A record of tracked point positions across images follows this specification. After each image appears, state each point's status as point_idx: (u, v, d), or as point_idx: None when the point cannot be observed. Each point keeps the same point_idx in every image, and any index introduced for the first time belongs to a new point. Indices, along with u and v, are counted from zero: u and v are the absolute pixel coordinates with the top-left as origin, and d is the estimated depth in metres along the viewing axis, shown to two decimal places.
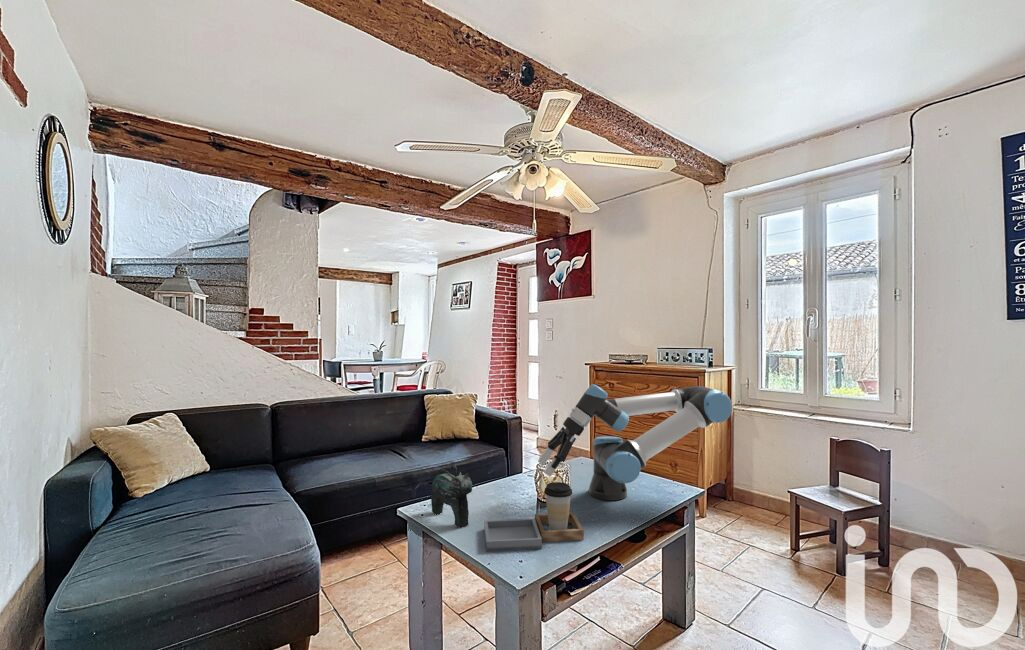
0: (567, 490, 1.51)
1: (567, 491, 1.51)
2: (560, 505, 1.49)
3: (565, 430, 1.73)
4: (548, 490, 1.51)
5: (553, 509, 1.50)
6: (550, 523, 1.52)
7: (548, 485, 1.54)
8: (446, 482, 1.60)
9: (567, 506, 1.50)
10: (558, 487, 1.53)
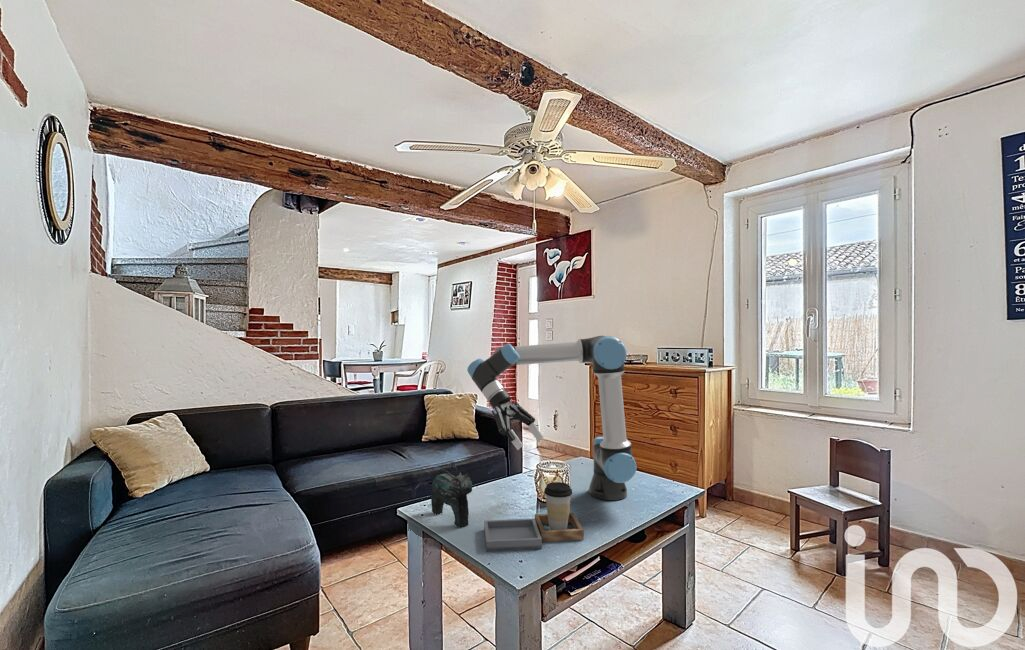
0: (567, 490, 1.51)
1: (567, 491, 1.51)
2: (560, 505, 1.49)
3: None
4: (548, 490, 1.51)
5: (553, 509, 1.50)
6: (550, 523, 1.52)
7: (548, 485, 1.54)
8: (446, 482, 1.60)
9: (567, 506, 1.50)
10: (558, 487, 1.53)
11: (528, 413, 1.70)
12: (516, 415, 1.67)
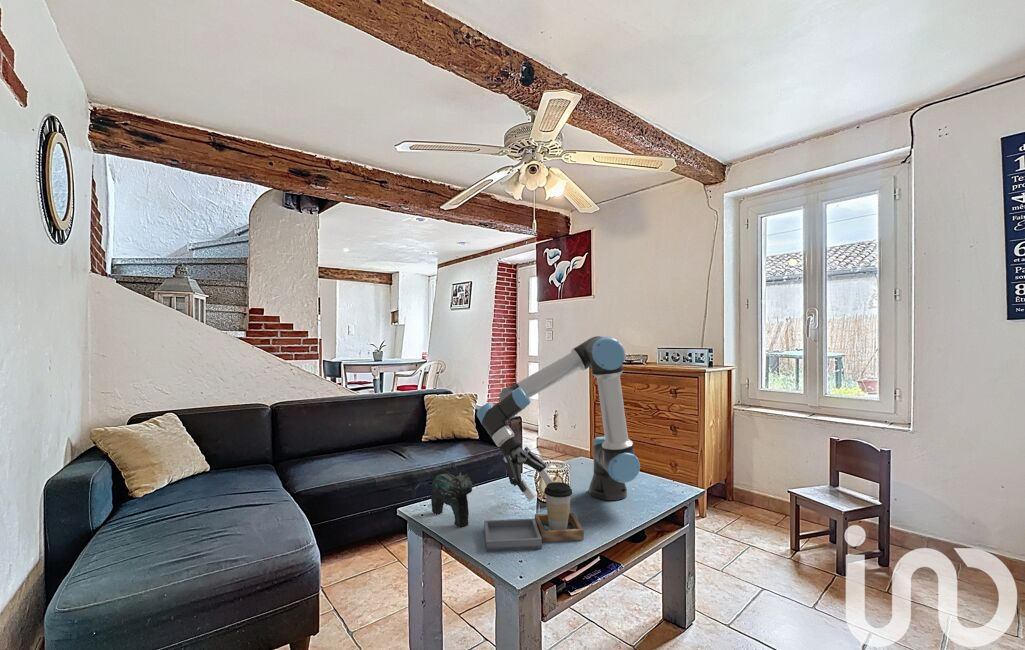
0: (567, 490, 1.51)
1: (567, 491, 1.51)
2: (560, 505, 1.49)
3: None
4: (548, 490, 1.51)
5: (553, 509, 1.50)
6: (550, 523, 1.52)
7: (548, 485, 1.54)
8: (446, 482, 1.60)
9: (567, 506, 1.50)
10: (558, 487, 1.53)
11: (539, 458, 1.67)
12: (527, 461, 1.63)
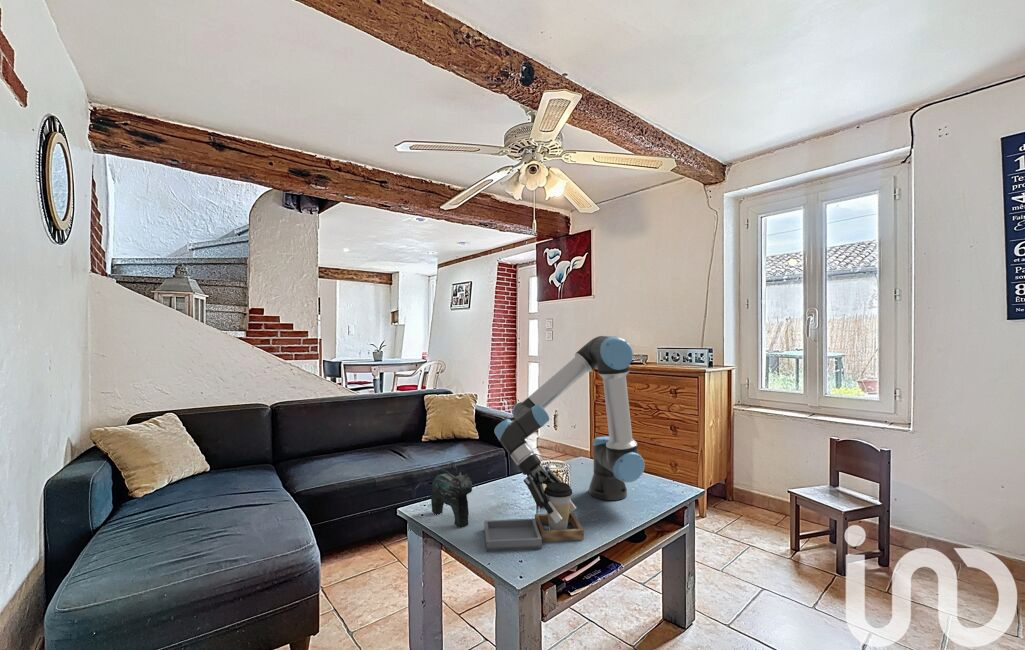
0: (567, 490, 1.51)
1: (567, 491, 1.51)
2: (560, 505, 1.49)
3: None
4: (548, 490, 1.51)
5: None
6: (550, 523, 1.52)
7: (548, 485, 1.54)
8: (446, 482, 1.60)
9: (567, 506, 1.50)
10: (558, 487, 1.53)
11: (559, 480, 1.62)
12: (546, 481, 1.59)
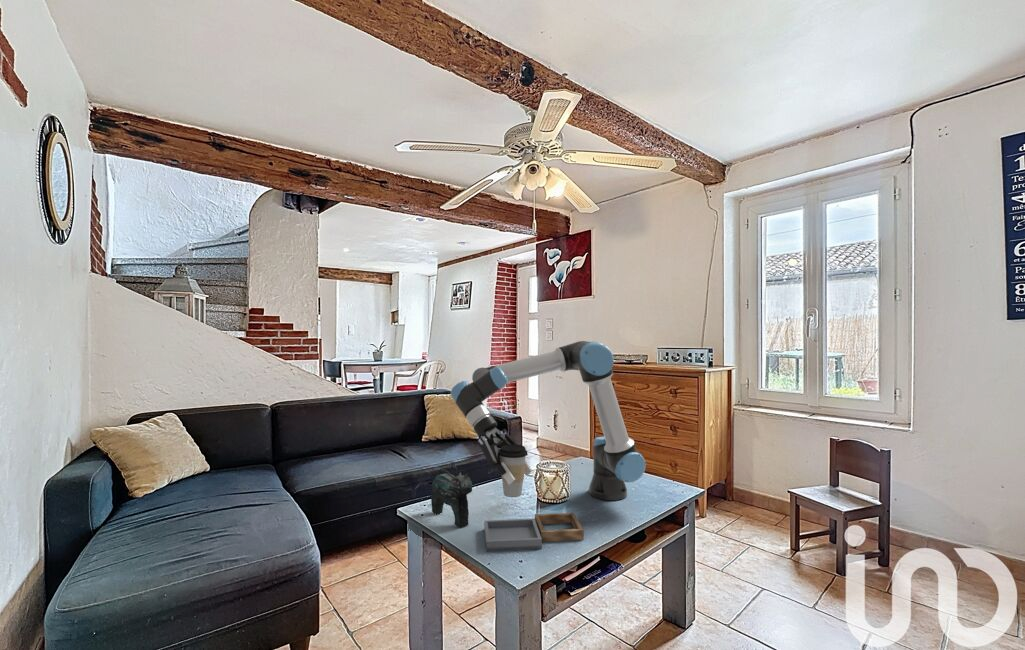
0: (521, 451, 1.45)
1: (521, 452, 1.45)
2: (514, 466, 1.44)
3: None
4: (502, 451, 1.46)
5: None
6: (504, 485, 1.46)
7: (503, 446, 1.49)
8: (446, 482, 1.60)
9: (521, 467, 1.45)
10: (513, 448, 1.47)
11: (516, 443, 1.56)
12: (502, 444, 1.53)
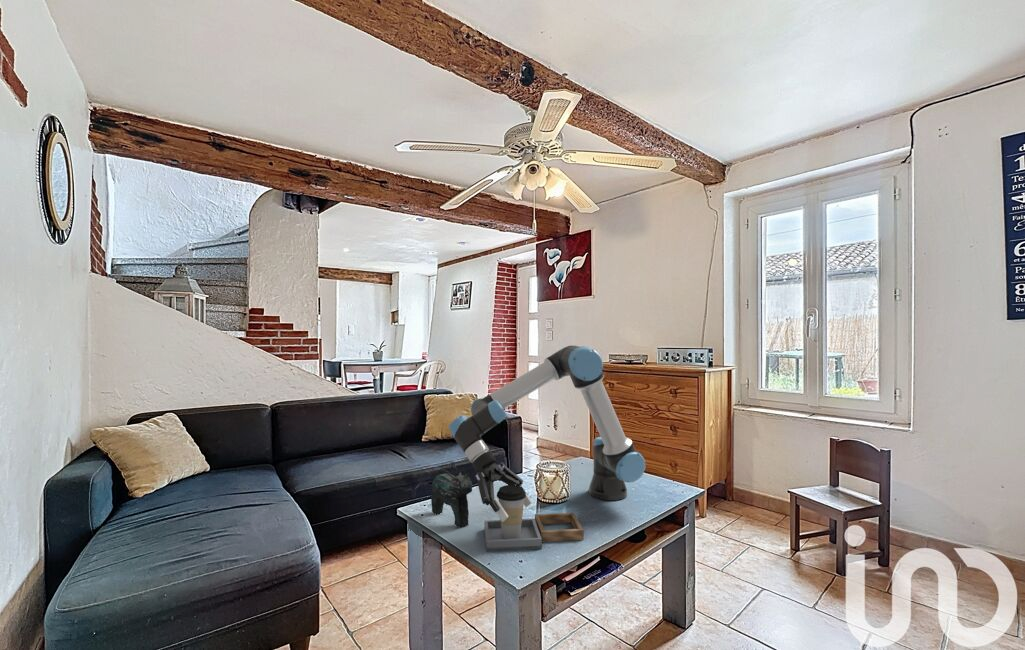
0: (519, 493, 1.45)
1: (519, 494, 1.45)
2: (512, 509, 1.44)
3: None
4: (500, 493, 1.46)
5: None
6: (502, 527, 1.46)
7: (501, 488, 1.48)
8: (446, 482, 1.60)
9: (519, 510, 1.45)
10: (511, 490, 1.47)
11: (515, 474, 1.57)
12: (502, 478, 1.54)
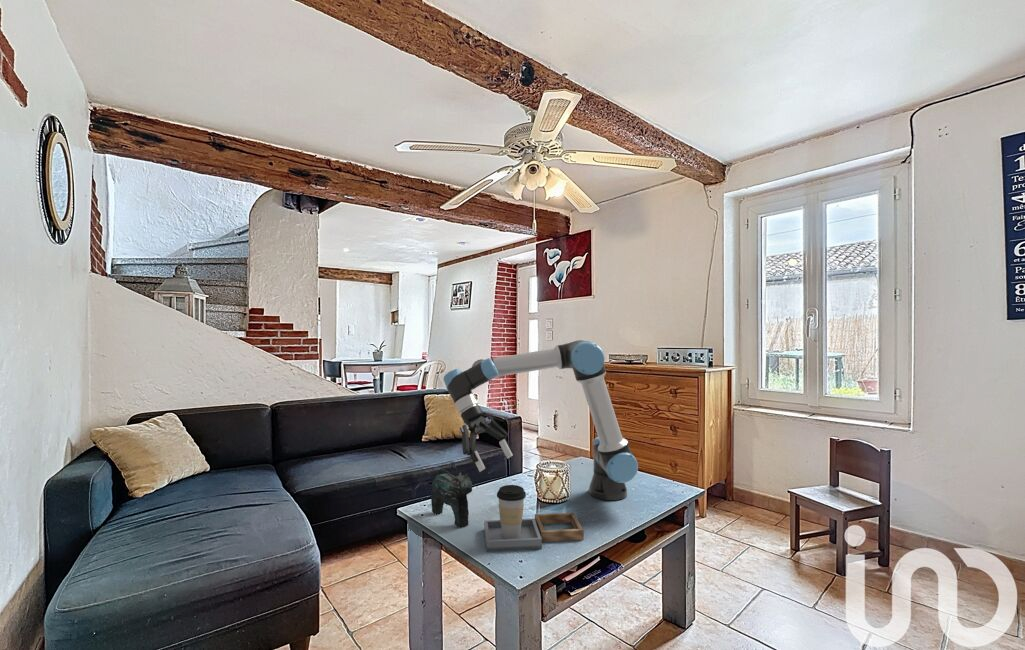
0: (520, 493, 1.45)
1: (520, 494, 1.45)
2: (512, 508, 1.44)
3: None
4: (500, 493, 1.46)
5: (505, 513, 1.44)
6: (502, 527, 1.46)
7: (501, 488, 1.48)
8: (446, 482, 1.60)
9: (520, 510, 1.45)
10: (511, 490, 1.47)
11: (501, 428, 1.68)
12: (487, 430, 1.65)
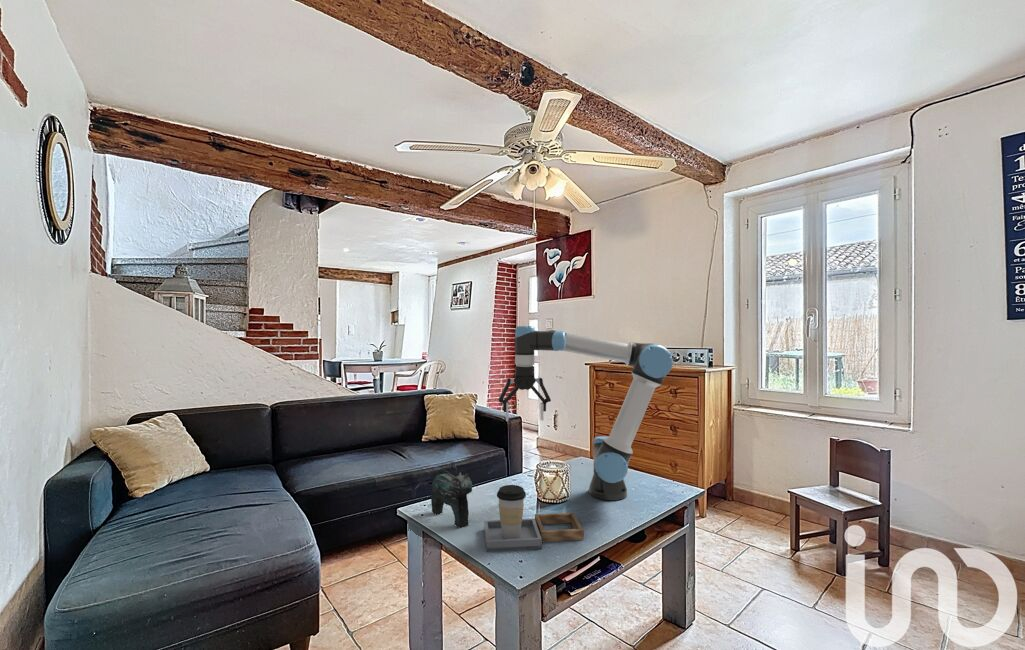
0: (520, 493, 1.45)
1: (520, 494, 1.45)
2: (512, 508, 1.44)
3: None
4: (500, 493, 1.46)
5: (505, 513, 1.44)
6: (502, 527, 1.46)
7: (501, 488, 1.48)
8: (446, 482, 1.60)
9: (520, 510, 1.45)
10: (511, 490, 1.47)
11: (546, 393, 1.78)
12: None
